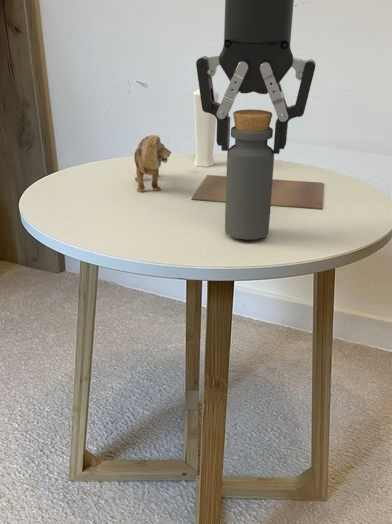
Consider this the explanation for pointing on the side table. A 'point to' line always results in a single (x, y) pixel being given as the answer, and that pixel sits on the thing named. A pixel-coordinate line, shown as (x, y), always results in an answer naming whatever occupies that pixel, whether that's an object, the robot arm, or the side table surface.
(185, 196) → the side table surface
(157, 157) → the lion figurine
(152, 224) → the side table surface
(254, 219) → the bottle
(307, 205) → the copper mat
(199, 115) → the perfume bottle
